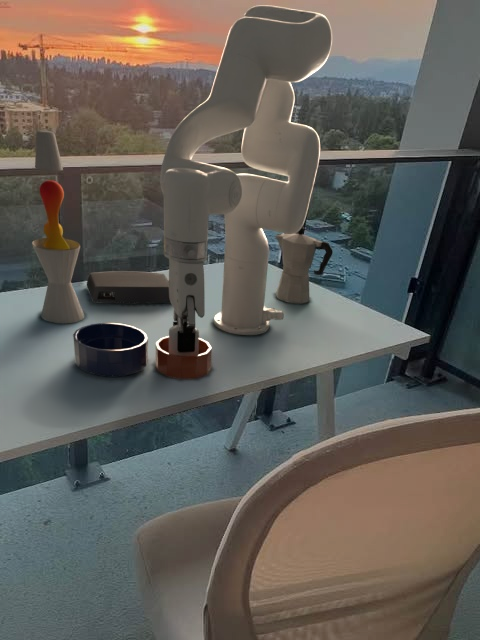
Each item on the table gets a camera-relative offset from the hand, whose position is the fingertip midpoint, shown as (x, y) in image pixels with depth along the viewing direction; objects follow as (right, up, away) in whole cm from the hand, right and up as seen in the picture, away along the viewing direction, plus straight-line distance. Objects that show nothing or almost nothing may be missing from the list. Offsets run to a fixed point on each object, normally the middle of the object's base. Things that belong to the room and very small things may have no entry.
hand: (183, 345), depth 118 cm
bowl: (-14, -3, 0) cm, 14 cm away
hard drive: (-19, +19, +31) cm, 41 cm away
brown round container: (-1, -4, +2) cm, 4 cm away
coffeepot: (+20, +22, +45) cm, 54 cm away
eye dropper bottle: (-1, -4, +3) cm, 5 cm away
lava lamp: (-29, +10, +15) cm, 34 cm away
